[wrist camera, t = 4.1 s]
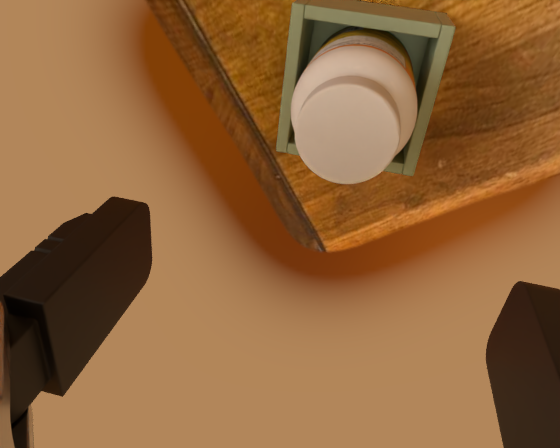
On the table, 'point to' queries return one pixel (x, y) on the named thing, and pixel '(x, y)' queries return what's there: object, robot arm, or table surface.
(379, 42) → the supplement bottle
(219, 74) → the table surface
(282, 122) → the caddy
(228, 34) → the table surface
